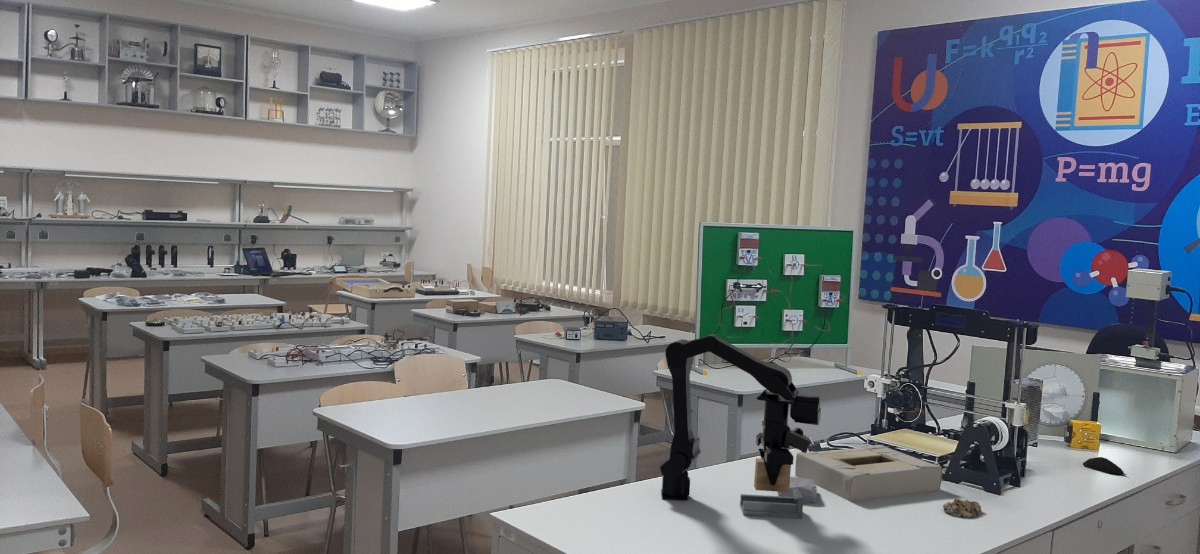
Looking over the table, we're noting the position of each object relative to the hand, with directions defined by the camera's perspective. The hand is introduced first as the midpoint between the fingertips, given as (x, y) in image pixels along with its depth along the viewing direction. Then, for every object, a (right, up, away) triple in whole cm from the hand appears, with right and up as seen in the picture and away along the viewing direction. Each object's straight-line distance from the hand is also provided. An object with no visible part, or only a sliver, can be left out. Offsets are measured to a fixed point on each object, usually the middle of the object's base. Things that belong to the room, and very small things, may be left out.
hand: (771, 482), depth 212 cm
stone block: (+9, -7, +15) cm, 19 cm away
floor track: (0, -7, 0) cm, 7 cm away
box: (+32, -7, +28) cm, 43 cm away
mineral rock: (+49, -10, +7) cm, 51 cm away
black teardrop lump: (+112, -9, +52) cm, 123 cm away
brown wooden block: (0, -2, 0) cm, 2 cm away
